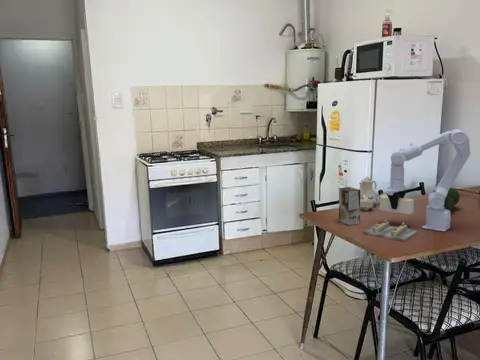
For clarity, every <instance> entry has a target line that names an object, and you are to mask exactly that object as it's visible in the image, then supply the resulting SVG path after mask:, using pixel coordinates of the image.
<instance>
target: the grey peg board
mask: <svg viewBox="0 0 480 360" xmlns="http://www.w3.org/2000/svg"><path fill="white" fill-rule="evenodd" d="M362 234H363V235H367V236H368V235H369V236H373V237H378V238H383V239H389V240H394V241H398V242H403V243H404V242H405V241H407V240H409V239H410V238H412V237H413V236H415V235H417V234H418V230H415V229H410V228H409V229H408V225H407V224H405V222H404V221H402V222H401V225H399V226H392V225H390V222H389V221H387V219H383V222H381V223H380V224H379V223H375V224H374V225H372V226H370V227H369V228H367V229H365V230H362Z"/></svg>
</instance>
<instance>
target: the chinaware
mask: <svg viewBox="0 0 480 360" xmlns="http://www.w3.org/2000/svg"><path fill="white" fill-rule="evenodd" d="M373 184H374V185H373ZM373 186H374V188H373ZM377 186H378V185H377V182H376V181H374V180H373V179H371V178H370V177H369V175H366V177H365V178H363V180H361V181H360V182H359V188H358V190H361V191H360V211H364V212H369V211H368V210H370V209H371V208H373V207H375V206H376V203H378V198H377V196H376V191H377ZM381 196H387V193H381V194H379V195H378V197H379V198H380V197H381Z"/></svg>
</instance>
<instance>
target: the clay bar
mask: <svg viewBox="0 0 480 360" xmlns="http://www.w3.org/2000/svg"><path fill="white" fill-rule="evenodd" d="M414 202H415V199H414V198H407V197H406V198H405V197H404V198H399V200H398V206H397V209H392V208H391V204H390V200H389V198H388V196H381V197H380V196H379V211H384V212H385V211H386V212H391V213H399V214H403V215H411V214H413V213H414V209H415V208H414V207H415V206H414V204H415V203H414Z"/></svg>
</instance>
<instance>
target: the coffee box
mask: <svg viewBox="0 0 480 360" xmlns="http://www.w3.org/2000/svg"><path fill="white" fill-rule="evenodd" d="M360 191H361V190H359V188H355V187H351V186H345V187H339V188H338V221H340V223H343V224H345V225H347V226H353V225H360V224H361V223H360V222H361V210H360V209H361V207H360Z"/></svg>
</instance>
